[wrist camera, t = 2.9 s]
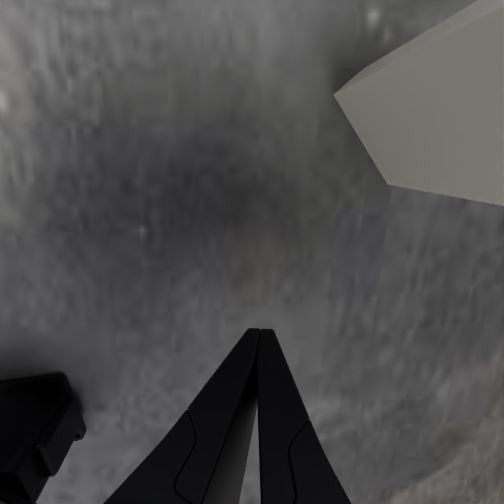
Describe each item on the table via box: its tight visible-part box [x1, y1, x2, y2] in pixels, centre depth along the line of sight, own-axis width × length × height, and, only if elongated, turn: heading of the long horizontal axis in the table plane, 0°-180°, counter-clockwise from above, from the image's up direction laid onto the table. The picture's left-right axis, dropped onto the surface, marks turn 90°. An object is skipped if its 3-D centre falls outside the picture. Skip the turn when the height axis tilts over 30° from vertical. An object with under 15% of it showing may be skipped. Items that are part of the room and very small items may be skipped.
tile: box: [333, 0, 504, 206], centre depth 13 cm, size 2×7×12 cm, turn 38°
